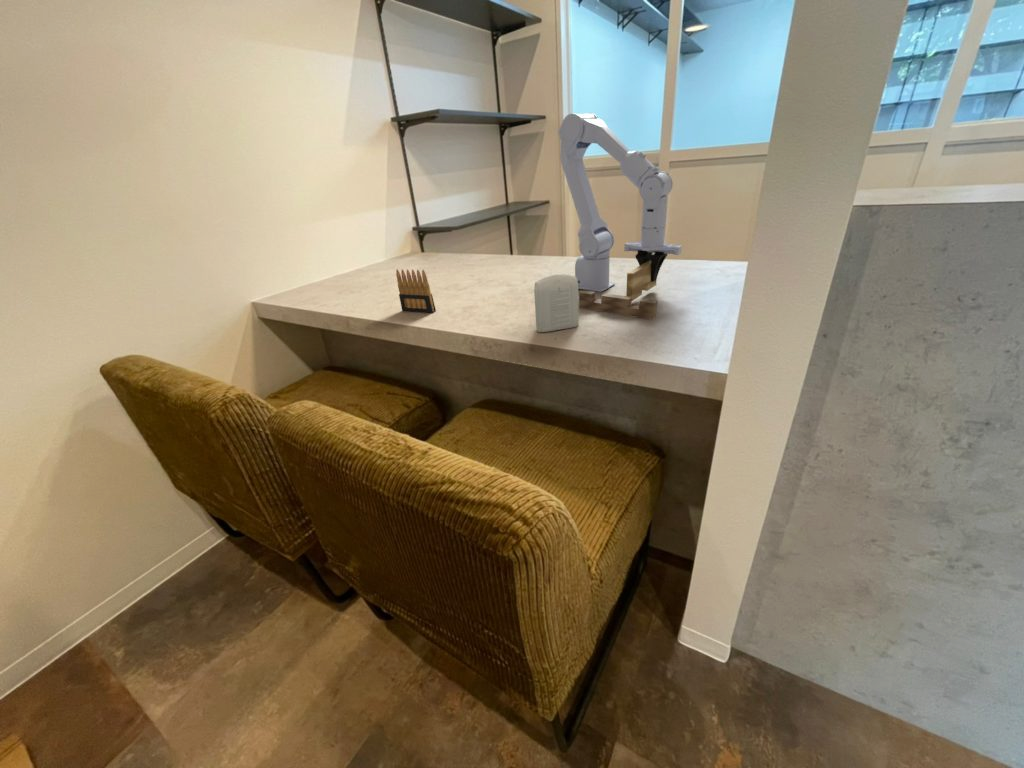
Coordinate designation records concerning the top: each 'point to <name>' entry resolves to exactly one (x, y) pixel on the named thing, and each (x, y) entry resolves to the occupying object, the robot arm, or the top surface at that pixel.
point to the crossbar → (639, 280)
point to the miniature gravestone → (556, 303)
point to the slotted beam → (618, 305)
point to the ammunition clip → (415, 292)
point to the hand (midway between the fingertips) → (649, 280)
